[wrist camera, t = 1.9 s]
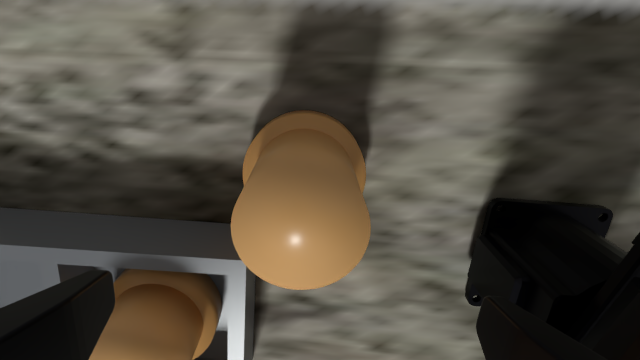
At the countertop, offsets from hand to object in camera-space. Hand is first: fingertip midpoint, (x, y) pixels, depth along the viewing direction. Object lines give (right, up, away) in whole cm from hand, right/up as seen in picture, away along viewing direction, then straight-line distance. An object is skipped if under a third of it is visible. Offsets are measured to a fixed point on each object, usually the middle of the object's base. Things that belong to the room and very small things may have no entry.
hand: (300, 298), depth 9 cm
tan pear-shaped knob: (0, +4, +10) cm, 10 cm away
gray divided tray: (-12, -3, +12) cm, 17 cm away
